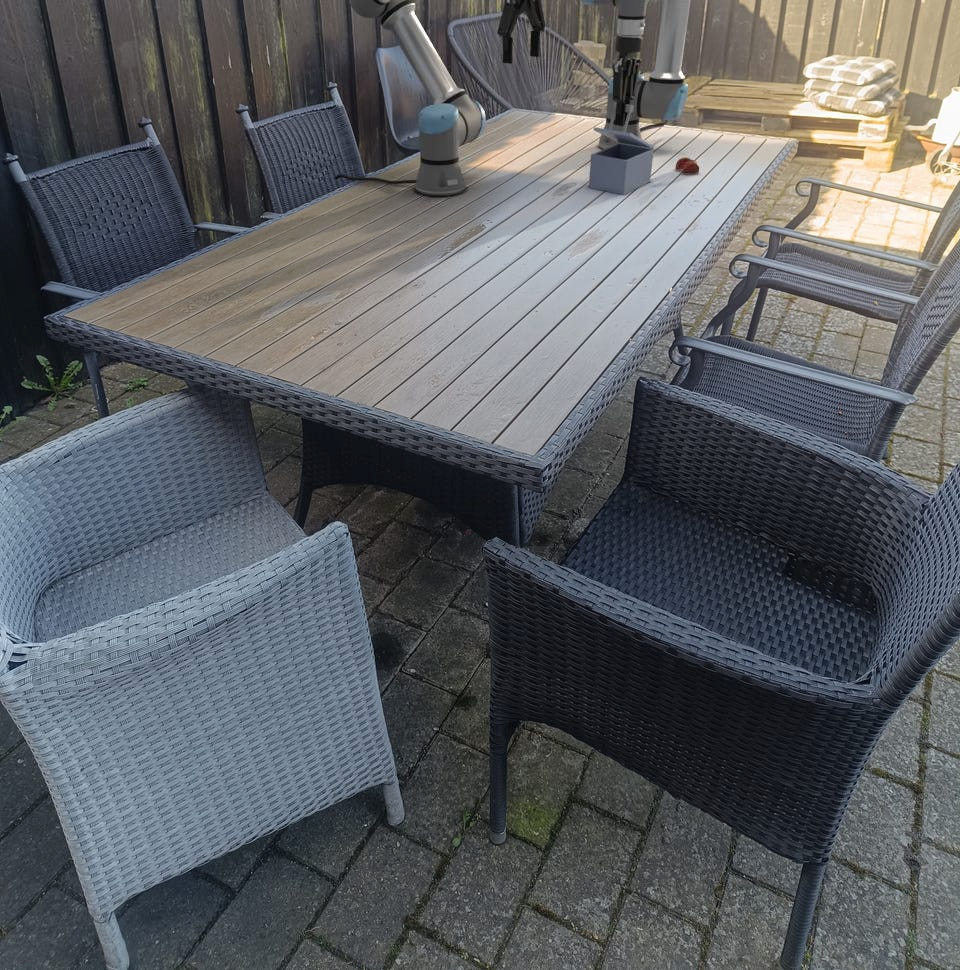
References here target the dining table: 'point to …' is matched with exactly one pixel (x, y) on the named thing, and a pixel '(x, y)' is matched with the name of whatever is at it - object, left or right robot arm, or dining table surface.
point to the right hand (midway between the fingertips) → (621, 124)
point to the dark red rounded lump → (687, 165)
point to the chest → (620, 168)
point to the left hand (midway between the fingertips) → (521, 59)
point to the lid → (623, 136)
